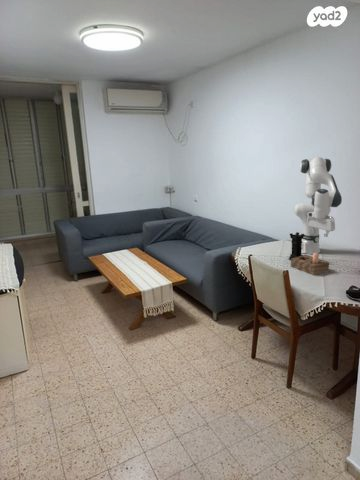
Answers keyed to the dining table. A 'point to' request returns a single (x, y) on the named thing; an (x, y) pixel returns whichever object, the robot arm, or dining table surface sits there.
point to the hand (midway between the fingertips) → (320, 234)
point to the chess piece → (296, 245)
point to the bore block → (309, 265)
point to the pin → (315, 258)
